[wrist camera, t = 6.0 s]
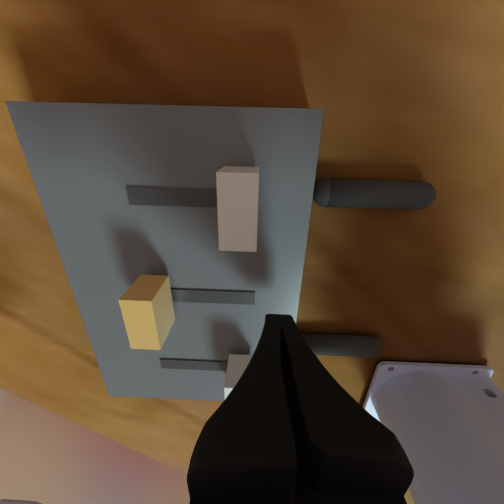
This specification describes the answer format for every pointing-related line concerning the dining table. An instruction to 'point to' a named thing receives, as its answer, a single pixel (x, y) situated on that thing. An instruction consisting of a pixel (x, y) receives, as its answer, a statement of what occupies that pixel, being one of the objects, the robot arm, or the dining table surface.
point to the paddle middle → (148, 311)
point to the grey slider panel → (172, 226)
